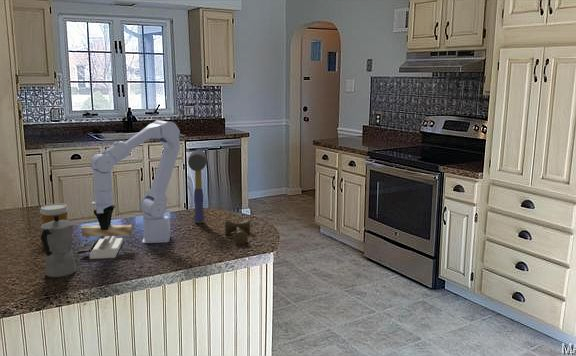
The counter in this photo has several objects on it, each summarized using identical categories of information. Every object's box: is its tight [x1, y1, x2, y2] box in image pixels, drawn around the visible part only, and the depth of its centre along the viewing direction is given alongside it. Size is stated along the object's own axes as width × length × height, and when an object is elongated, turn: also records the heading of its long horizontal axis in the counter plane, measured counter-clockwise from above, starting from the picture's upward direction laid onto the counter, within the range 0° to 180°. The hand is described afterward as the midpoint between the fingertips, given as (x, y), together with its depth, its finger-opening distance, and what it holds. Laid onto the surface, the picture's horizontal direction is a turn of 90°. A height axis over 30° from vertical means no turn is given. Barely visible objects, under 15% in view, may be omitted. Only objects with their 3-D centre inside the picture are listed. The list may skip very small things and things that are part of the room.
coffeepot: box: [40, 215, 77, 278], centre depth 146 cm, size 15×9×18 cm, turn 179°
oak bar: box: [80, 224, 133, 238], centre depth 167 cm, size 16×3×3 cm, turn 99°
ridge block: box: [89, 236, 124, 260], centre depth 168 cm, size 8×16×4 cm, turn 9°
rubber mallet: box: [187, 149, 208, 224], centre depth 198 cm, size 12×8×30 cm, turn 7°
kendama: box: [224, 218, 251, 245], centre depth 184 cm, size 6×10×20 cm
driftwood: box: [77, 236, 103, 253], centre depth 175 cm, size 21×7×2 cm, turn 4°
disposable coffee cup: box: [39, 203, 69, 224], centre depth 179 cm, size 10×10×12 cm
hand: (105, 228), depth 166 cm, fingers closed on oak bar, 3 cm apart
